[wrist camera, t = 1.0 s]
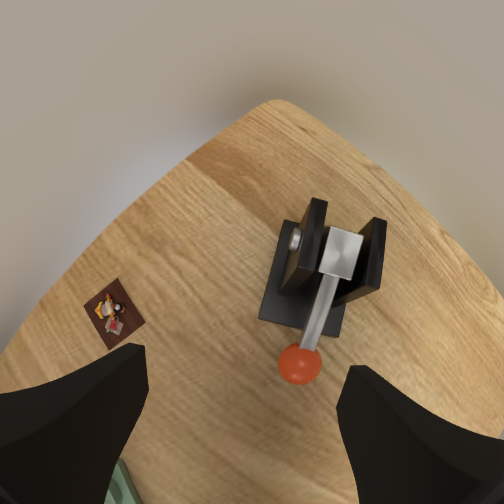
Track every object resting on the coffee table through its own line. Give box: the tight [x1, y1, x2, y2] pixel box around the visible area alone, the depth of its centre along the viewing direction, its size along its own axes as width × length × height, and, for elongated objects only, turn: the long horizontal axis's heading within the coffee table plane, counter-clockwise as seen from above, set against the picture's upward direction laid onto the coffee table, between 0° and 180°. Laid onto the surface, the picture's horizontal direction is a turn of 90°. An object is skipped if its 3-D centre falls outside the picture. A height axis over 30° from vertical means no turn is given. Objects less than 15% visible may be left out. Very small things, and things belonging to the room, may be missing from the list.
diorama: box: [84, 278, 145, 350], centre depth 22 cm, size 3×4×2 cm
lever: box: [278, 225, 364, 385], centre depth 18 cm, size 11×3×3 cm, turn 165°
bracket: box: [258, 197, 387, 338], centre depth 20 cm, size 9×7×10 cm
